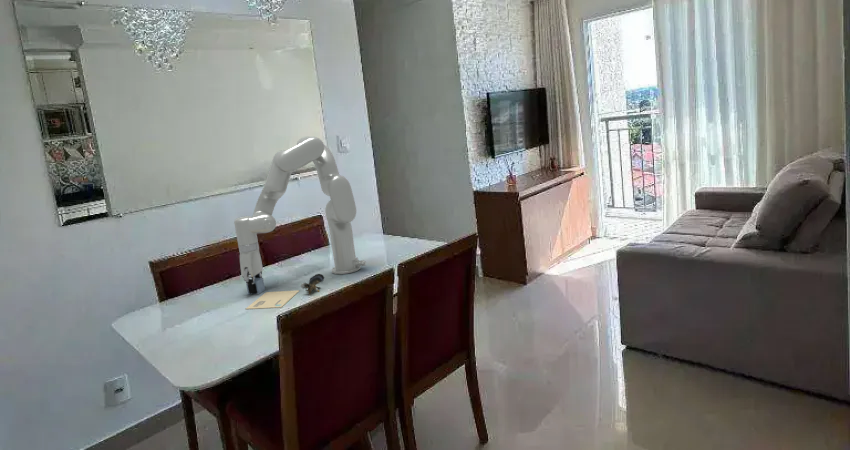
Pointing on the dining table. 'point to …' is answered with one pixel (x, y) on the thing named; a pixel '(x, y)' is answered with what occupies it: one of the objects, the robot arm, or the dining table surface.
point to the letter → (273, 299)
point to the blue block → (258, 285)
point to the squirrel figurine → (313, 283)
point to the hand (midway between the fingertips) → (256, 290)
